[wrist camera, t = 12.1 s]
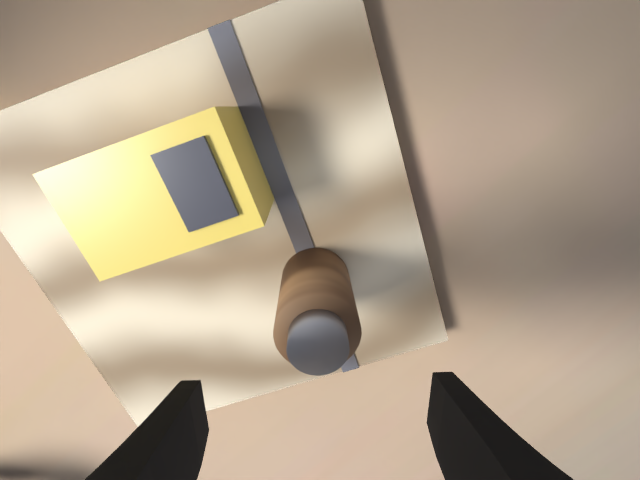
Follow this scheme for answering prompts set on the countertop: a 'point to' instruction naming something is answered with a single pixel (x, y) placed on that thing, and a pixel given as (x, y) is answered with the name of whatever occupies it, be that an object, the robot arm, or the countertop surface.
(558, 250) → the countertop surface
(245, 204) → the block
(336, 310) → the bottle
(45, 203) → the cream striped towel
